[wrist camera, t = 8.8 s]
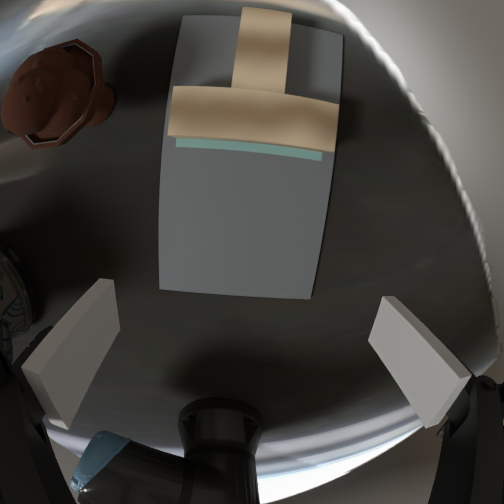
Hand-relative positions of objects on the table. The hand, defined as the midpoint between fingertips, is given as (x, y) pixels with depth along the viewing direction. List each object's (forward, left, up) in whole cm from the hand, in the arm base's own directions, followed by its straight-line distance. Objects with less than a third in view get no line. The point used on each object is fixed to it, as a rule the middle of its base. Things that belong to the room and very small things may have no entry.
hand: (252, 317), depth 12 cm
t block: (+16, 0, -19) cm, 25 cm away
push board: (+8, 0, -20) cm, 21 cm away
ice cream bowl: (+13, +19, -20) cm, 30 cm away
